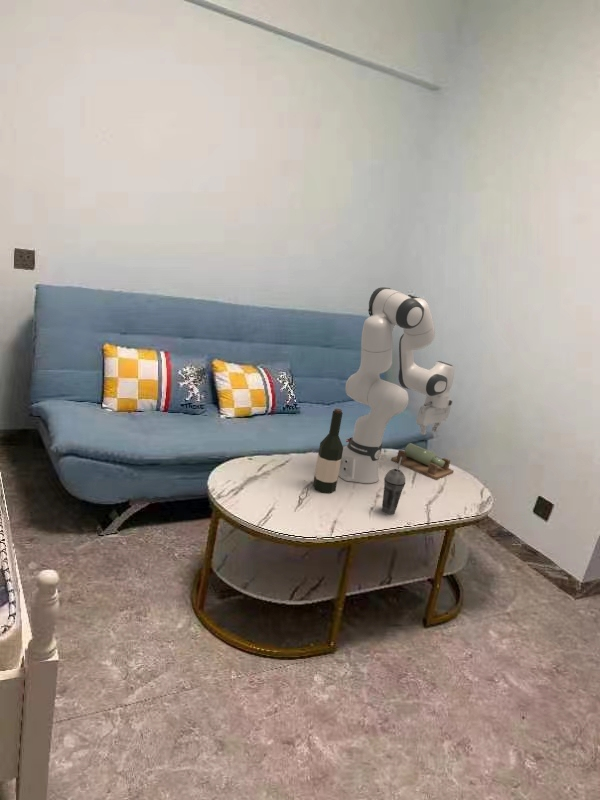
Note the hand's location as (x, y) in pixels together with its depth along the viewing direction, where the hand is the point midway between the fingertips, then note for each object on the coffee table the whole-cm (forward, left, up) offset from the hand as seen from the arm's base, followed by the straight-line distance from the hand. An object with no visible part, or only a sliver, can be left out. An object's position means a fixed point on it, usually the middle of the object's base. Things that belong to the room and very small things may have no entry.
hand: (428, 432), depth 255 cm
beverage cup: (+16, -49, -15) cm, 53 cm away
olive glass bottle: (-8, +2, -11) cm, 14 cm away
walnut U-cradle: (0, 0, -15) cm, 15 cm away
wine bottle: (-8, -55, -15) cm, 57 cm away
